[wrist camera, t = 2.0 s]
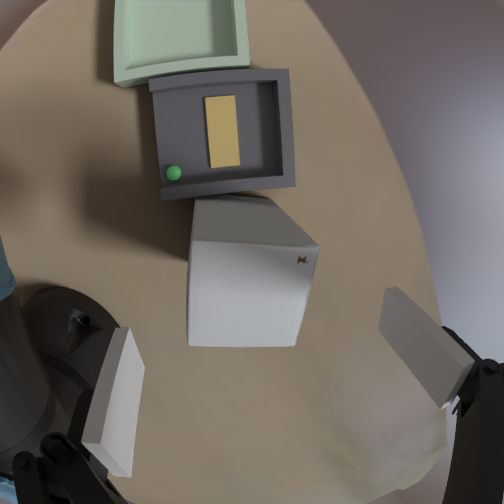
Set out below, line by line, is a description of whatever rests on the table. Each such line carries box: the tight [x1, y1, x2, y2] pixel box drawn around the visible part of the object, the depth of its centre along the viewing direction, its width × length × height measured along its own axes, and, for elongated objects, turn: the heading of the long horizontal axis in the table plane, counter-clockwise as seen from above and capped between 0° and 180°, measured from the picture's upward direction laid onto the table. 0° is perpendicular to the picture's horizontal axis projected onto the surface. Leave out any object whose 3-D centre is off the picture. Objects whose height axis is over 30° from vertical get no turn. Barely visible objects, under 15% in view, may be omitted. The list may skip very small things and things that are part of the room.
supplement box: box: [186, 194, 320, 347], centre depth 22 cm, size 7×7×13 cm
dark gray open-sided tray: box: [149, 69, 296, 201], centre depth 23 cm, size 11×10×4 cm
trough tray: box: [114, 0, 250, 88], centre depth 18 cm, size 11×11×3 cm
